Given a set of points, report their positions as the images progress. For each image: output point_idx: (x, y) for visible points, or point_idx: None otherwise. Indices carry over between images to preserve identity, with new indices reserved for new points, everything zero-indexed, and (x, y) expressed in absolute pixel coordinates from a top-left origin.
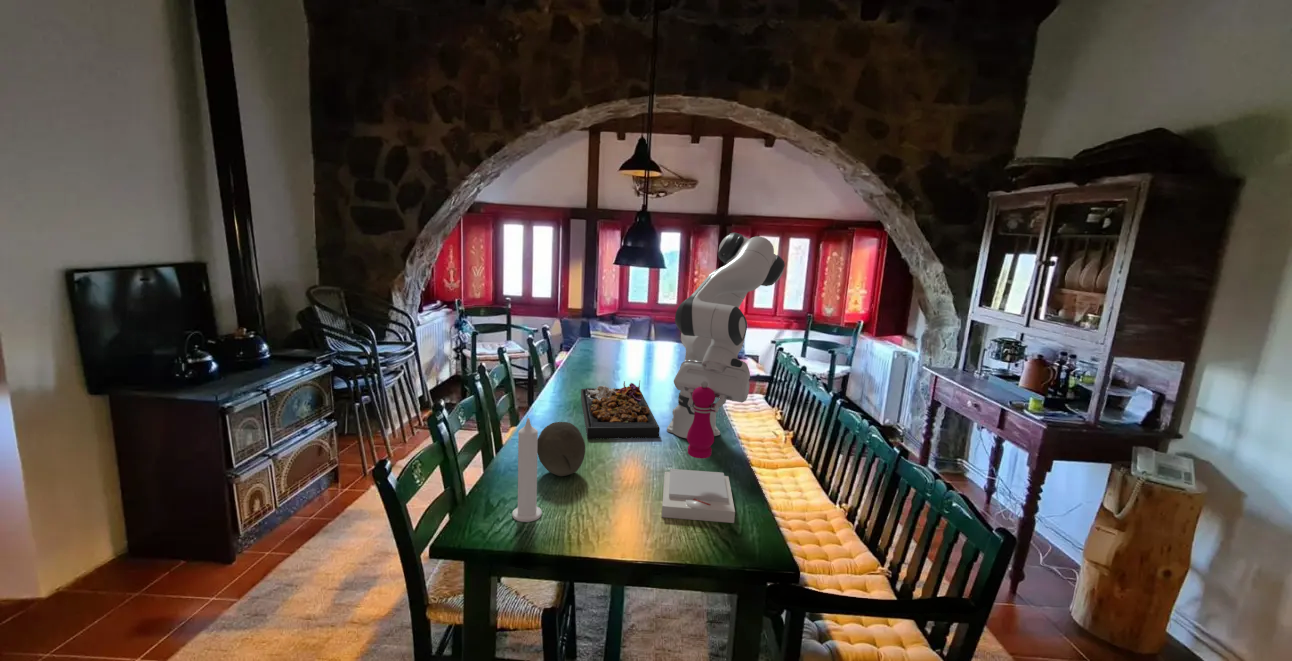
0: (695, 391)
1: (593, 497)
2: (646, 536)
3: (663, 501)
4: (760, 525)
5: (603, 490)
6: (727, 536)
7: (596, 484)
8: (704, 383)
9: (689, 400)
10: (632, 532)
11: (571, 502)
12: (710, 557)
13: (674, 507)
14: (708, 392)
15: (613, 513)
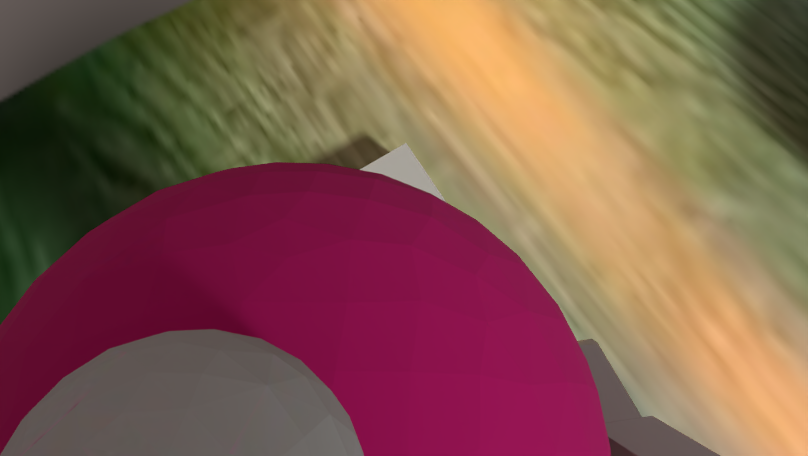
0: (437, 211)
1: (713, 113)
2: (372, 29)
3: (425, 178)
4: None
5: (734, 184)
6: (125, 209)
7: (799, 207)
8: (85, 368)
9: (602, 379)
10: (426, 19)
11: (739, 34)
12: (129, 60)
13: (360, 169)
14: (14, 324)
15: (564, 71)
